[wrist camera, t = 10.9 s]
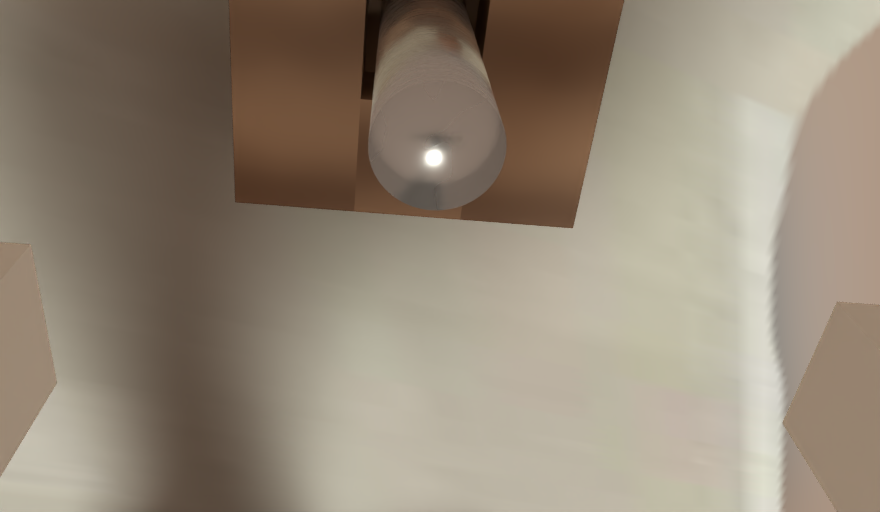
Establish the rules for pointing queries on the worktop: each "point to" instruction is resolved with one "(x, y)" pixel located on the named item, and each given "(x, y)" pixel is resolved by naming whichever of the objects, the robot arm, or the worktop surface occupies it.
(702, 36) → the worktop surface
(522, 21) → the wooden block with hole
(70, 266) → the worktop surface
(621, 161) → the worktop surface
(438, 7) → the steel pin
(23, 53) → the worktop surface
